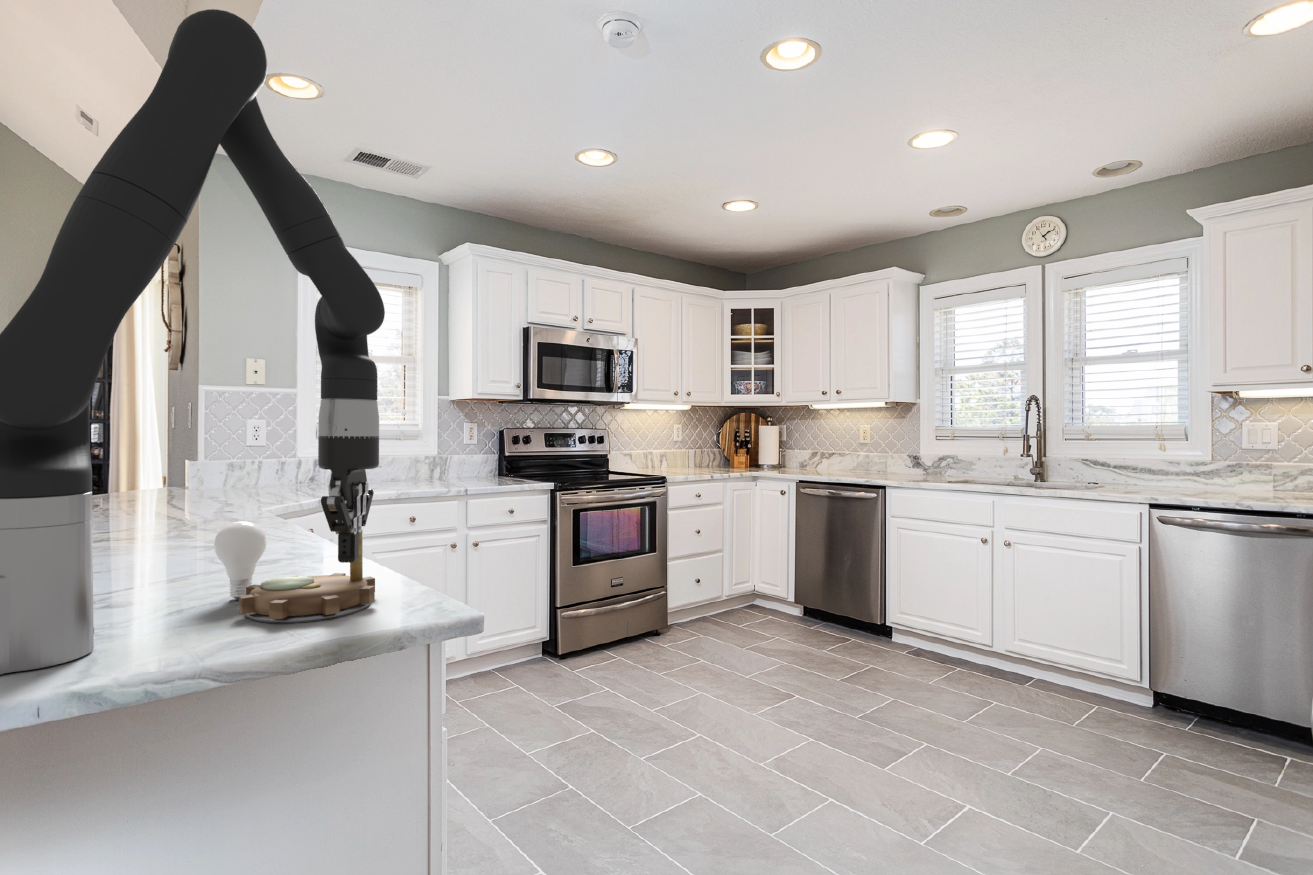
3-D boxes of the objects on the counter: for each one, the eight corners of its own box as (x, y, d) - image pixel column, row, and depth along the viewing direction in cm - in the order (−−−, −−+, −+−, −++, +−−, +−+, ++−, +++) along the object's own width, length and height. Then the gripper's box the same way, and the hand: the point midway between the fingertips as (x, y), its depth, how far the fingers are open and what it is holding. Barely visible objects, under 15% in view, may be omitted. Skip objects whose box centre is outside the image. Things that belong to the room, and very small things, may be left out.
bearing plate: (297, 629, 82) (297, 625, 82) (220, 613, 89) (220, 610, 89) (395, 601, 96) (395, 597, 96) (321, 589, 102) (321, 585, 102)
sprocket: (397, 602, 92) (397, 535, 92) (259, 627, 81) (258, 551, 81) (350, 581, 104) (350, 522, 104) (224, 600, 93) (224, 534, 92)
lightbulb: (225, 607, 92) (225, 525, 92) (206, 599, 96) (206, 521, 96) (275, 598, 97) (274, 520, 97) (255, 591, 101) (254, 516, 101)
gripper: (360, 434, 87) (359, 571, 87) (392, 433, 100) (392, 552, 100) (298, 433, 86) (297, 571, 86) (339, 433, 99) (338, 552, 99)
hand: (348, 561), depth 93 cm, fingers closed
